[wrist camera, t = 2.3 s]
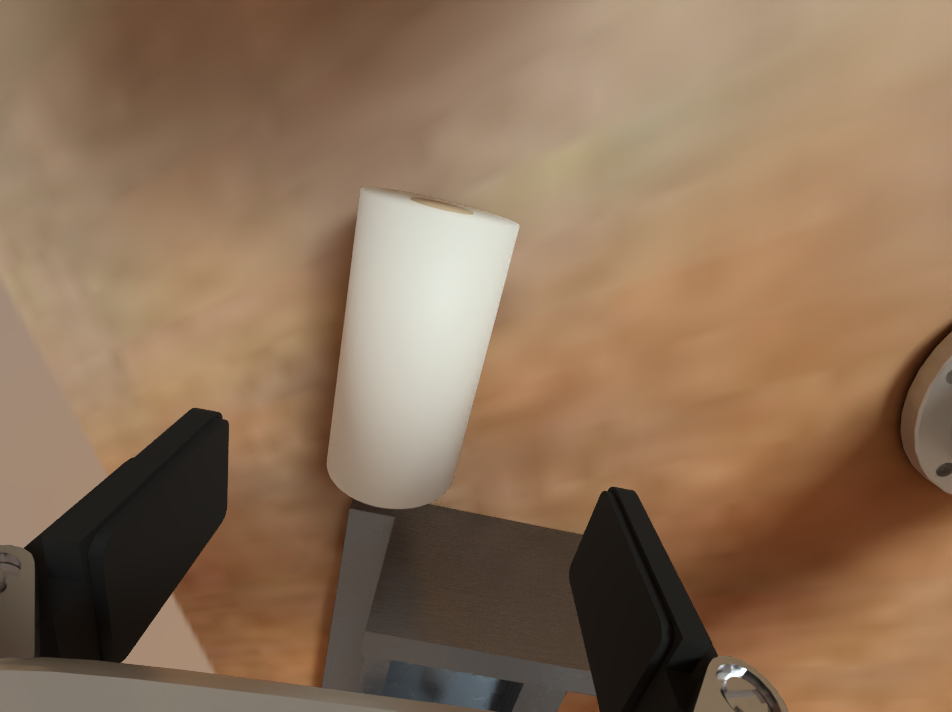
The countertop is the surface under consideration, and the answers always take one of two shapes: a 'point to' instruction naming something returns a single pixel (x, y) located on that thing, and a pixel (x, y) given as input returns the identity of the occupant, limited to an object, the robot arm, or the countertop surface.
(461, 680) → the roll holder
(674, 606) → the robot arm
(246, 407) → the countertop surface
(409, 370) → the kitchen roll
